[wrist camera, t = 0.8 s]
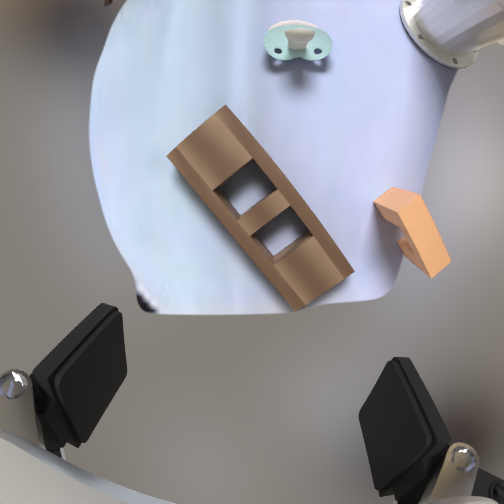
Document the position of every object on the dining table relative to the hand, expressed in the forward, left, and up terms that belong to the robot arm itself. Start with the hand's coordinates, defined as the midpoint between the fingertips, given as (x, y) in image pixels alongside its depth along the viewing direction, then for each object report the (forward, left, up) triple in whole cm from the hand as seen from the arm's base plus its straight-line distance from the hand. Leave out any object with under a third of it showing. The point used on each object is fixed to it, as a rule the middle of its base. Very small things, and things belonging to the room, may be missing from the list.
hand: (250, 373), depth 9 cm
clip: (-13, +10, -24) cm, 29 cm away
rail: (-1, -1, -24) cm, 24 cm away
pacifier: (-16, -15, -25) cm, 33 cm away
